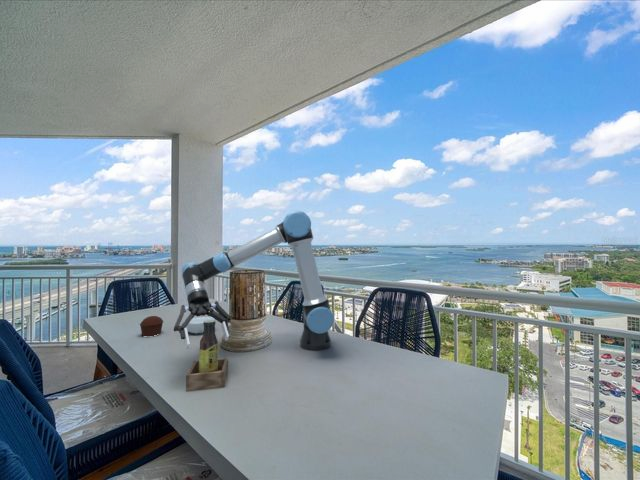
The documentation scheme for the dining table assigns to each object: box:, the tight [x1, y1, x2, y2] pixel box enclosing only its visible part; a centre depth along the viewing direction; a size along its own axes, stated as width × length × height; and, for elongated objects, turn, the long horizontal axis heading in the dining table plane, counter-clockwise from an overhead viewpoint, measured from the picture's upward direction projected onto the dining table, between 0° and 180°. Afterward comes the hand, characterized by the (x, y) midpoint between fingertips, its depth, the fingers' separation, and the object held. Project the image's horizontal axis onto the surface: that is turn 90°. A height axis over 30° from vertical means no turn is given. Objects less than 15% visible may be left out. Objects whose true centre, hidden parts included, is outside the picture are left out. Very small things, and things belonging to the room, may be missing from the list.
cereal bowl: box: [182, 316, 216, 335], centre depth 162 cm, size 17×17×7 cm
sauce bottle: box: [198, 320, 219, 373], centre depth 101 cm, size 7×6×20 cm
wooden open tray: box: [185, 357, 229, 392], centre depth 101 cm, size 12×13×5 cm
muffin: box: [139, 315, 164, 337], centre depth 157 cm, size 12×11×10 cm
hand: (208, 342), depth 101 cm, fingers open, 13 cm apart
